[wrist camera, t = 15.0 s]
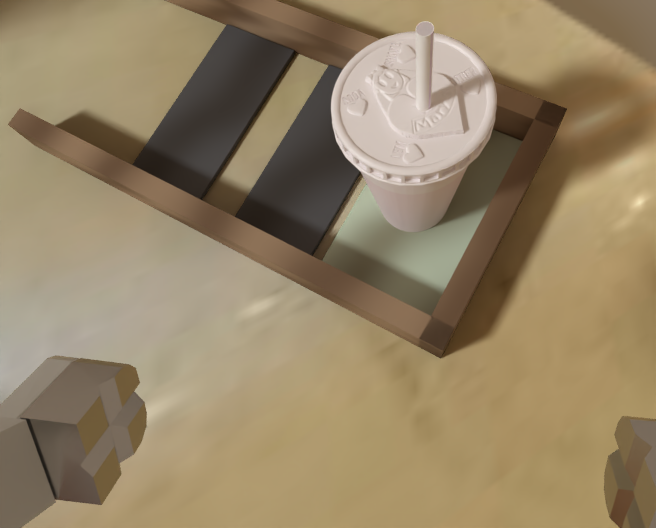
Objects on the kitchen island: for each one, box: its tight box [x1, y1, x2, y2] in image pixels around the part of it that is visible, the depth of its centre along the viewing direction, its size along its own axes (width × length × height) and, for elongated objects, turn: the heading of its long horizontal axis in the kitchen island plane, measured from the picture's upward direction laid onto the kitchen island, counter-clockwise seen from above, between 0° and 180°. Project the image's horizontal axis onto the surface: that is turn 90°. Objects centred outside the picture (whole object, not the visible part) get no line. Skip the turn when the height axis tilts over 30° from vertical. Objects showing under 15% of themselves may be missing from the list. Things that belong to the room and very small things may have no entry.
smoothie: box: [331, 21, 497, 232], centre depth 24 cm, size 6×6×14 cm
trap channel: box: [8, 0, 567, 358], centre depth 33 cm, size 28×14×2 cm, turn 60°
